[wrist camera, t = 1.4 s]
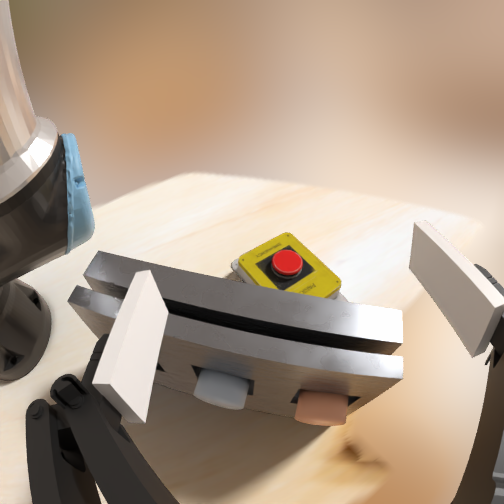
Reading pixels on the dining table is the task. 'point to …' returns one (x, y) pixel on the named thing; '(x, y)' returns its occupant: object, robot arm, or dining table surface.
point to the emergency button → (288, 269)
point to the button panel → (253, 335)
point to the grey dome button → (222, 389)
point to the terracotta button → (321, 408)
